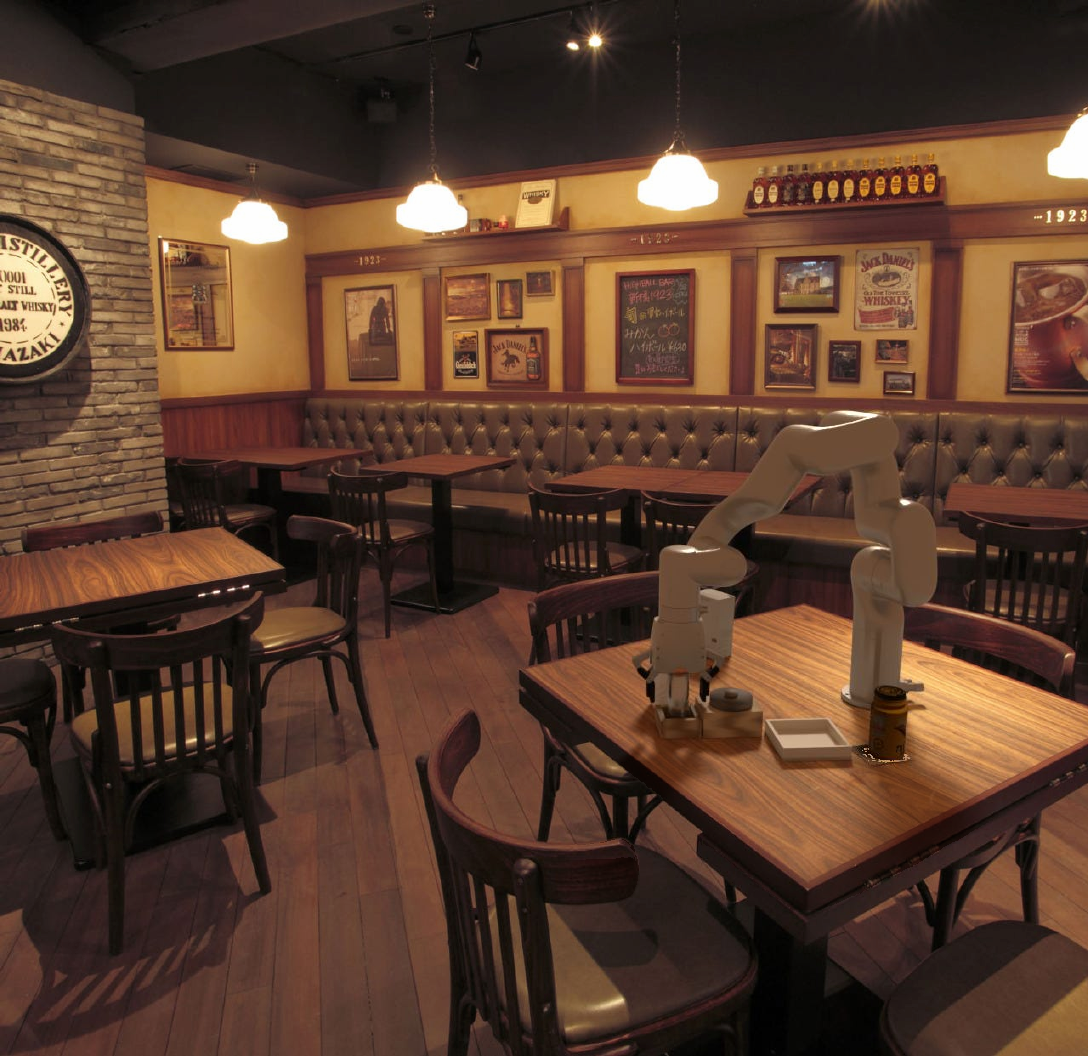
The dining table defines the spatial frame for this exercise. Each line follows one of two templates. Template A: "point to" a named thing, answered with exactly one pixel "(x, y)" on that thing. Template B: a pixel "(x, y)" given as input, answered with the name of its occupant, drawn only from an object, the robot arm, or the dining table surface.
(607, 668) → the dining table surface
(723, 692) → the wooden condiment holder
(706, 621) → the skincare box
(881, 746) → the condiment
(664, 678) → the white cup
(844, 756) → the tray
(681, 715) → the glass shaker
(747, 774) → the dining table surface
